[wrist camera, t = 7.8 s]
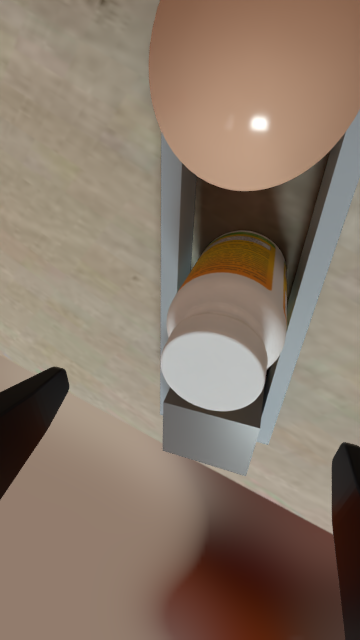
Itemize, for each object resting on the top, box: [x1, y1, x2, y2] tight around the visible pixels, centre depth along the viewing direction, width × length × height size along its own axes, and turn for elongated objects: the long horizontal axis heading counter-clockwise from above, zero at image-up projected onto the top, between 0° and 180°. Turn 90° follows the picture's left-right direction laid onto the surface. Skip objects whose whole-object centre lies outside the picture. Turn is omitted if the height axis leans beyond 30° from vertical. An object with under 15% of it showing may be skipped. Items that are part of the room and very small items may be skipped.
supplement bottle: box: [161, 230, 287, 411], centre depth 15 cm, size 5×5×10 cm
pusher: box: [163, 384, 265, 476], centre depth 21 cm, size 5×6×6 cm
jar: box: [149, 0, 360, 191], centre depth 10 cm, size 5×5×9 cm
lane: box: [160, 109, 360, 445], centre depth 17 cm, size 26×8×5 cm, turn 178°
